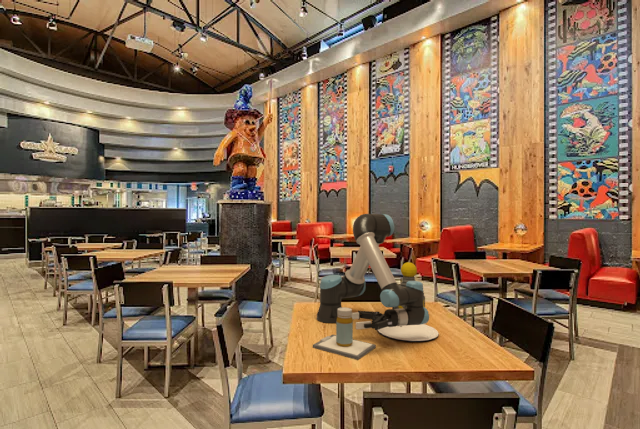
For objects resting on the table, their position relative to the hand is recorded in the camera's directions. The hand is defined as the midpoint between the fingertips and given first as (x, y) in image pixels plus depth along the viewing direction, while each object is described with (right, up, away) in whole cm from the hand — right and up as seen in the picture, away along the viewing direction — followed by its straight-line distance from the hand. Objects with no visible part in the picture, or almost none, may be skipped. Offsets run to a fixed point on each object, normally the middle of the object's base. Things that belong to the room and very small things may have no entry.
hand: (350, 321), depth 148 cm
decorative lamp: (+39, -12, +53) cm, 66 cm away
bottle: (-3, -10, 0) cm, 10 cm away
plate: (+30, -12, +20) cm, 38 cm away
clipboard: (-3, -11, 0) cm, 12 cm away
